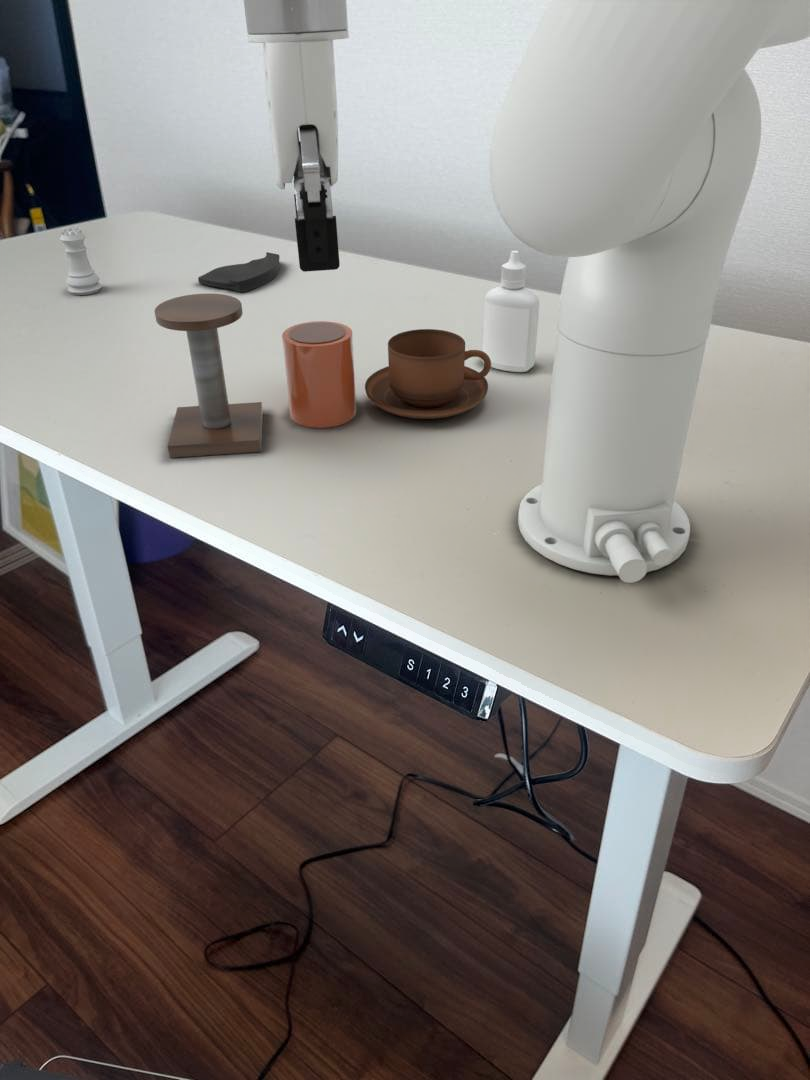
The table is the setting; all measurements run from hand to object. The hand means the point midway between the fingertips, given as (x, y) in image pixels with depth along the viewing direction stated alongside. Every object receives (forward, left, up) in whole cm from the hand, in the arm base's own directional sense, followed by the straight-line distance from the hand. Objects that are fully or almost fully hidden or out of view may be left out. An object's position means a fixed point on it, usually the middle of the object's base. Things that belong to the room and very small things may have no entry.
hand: (318, 254), depth 70 cm
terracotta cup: (+1, +1, -15) cm, 15 cm away
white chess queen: (+43, +31, -15) cm, 56 cm away
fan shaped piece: (+46, +9, -15) cm, 49 cm away
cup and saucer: (+1, -10, -15) cm, 18 cm away
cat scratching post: (-3, +10, -15) cm, 19 cm away
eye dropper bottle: (+9, -20, -15) cm, 27 cm away
